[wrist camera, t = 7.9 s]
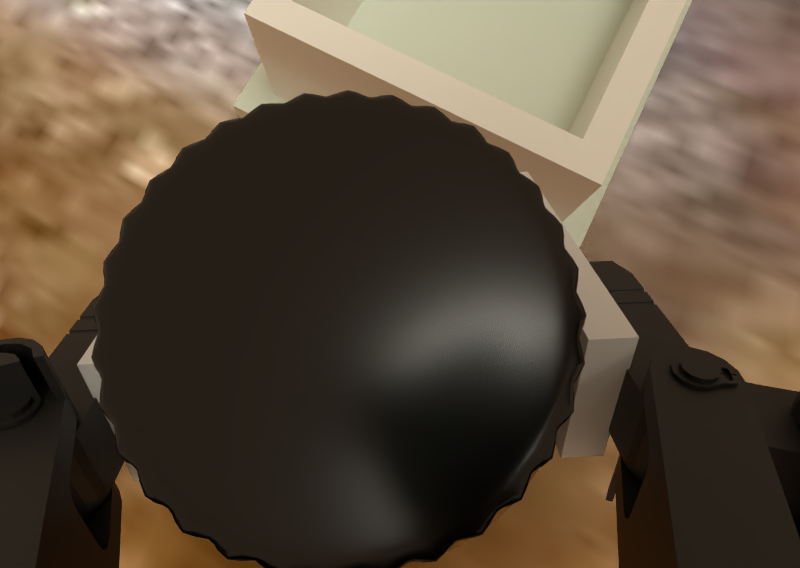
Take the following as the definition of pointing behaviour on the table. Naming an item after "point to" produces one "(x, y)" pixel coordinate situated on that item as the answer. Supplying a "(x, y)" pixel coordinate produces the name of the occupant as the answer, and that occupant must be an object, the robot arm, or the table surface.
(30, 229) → the table surface
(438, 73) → the well
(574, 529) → the table surface
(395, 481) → the supplement bottle
